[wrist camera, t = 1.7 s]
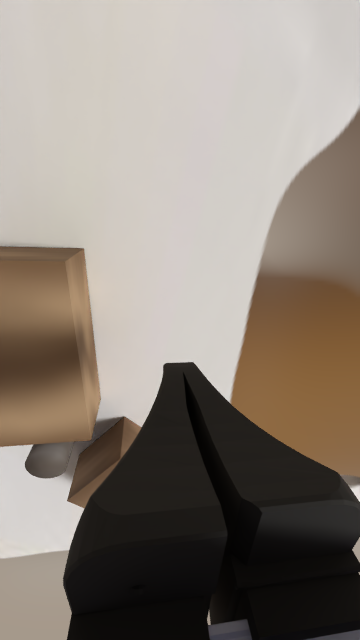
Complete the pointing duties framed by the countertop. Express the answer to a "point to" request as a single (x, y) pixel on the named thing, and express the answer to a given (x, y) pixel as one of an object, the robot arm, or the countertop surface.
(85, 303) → the swing leaf
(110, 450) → the oblong wooden brick
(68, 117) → the countertop surface
